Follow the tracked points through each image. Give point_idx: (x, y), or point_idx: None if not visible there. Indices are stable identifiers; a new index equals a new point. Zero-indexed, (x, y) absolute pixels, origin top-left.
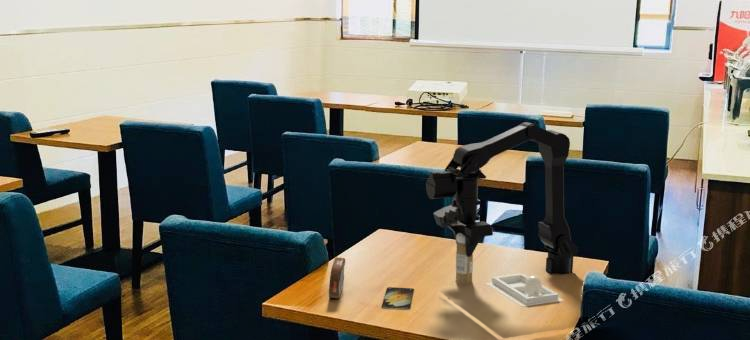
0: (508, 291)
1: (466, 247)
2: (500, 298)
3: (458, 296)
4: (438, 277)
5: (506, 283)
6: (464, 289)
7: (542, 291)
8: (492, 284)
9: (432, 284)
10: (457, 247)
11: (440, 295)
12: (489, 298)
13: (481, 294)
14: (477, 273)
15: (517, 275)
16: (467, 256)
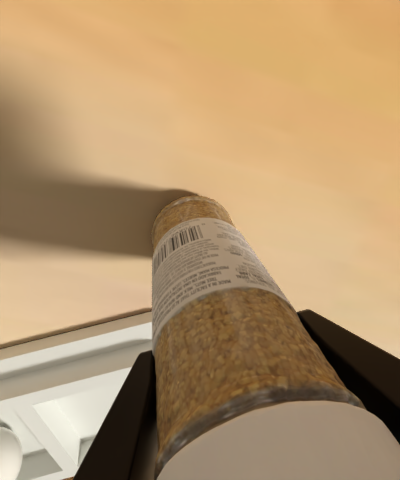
0: (26, 379)
1: (109, 445)
2: (16, 333)
3: (27, 166)
4: (324, 135)
5: (72, 394)
6: (135, 220)
7: (32, 463)
8: (141, 337)
9: (232, 67)
10: (239, 338)
11: (36, 60)
12: (11, 296)
13: (64, 276)
14: (313, 305)
15: None
16: (139, 354)
